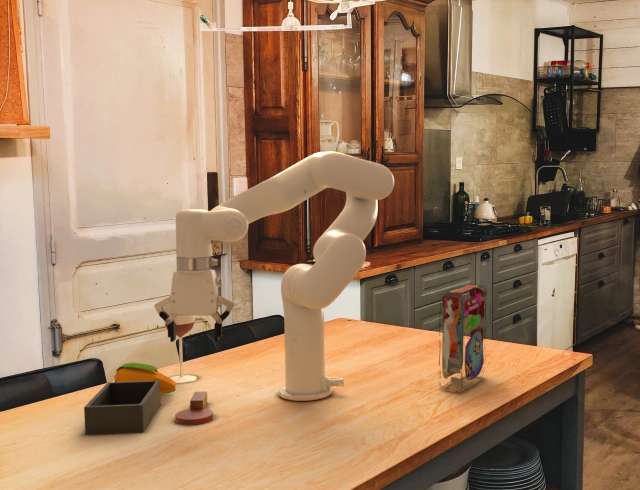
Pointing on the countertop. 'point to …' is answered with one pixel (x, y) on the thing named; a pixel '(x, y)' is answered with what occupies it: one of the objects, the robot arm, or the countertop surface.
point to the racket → (195, 411)
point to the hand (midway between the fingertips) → (195, 340)
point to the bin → (122, 407)
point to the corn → (144, 376)
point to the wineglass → (182, 328)
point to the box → (457, 327)
